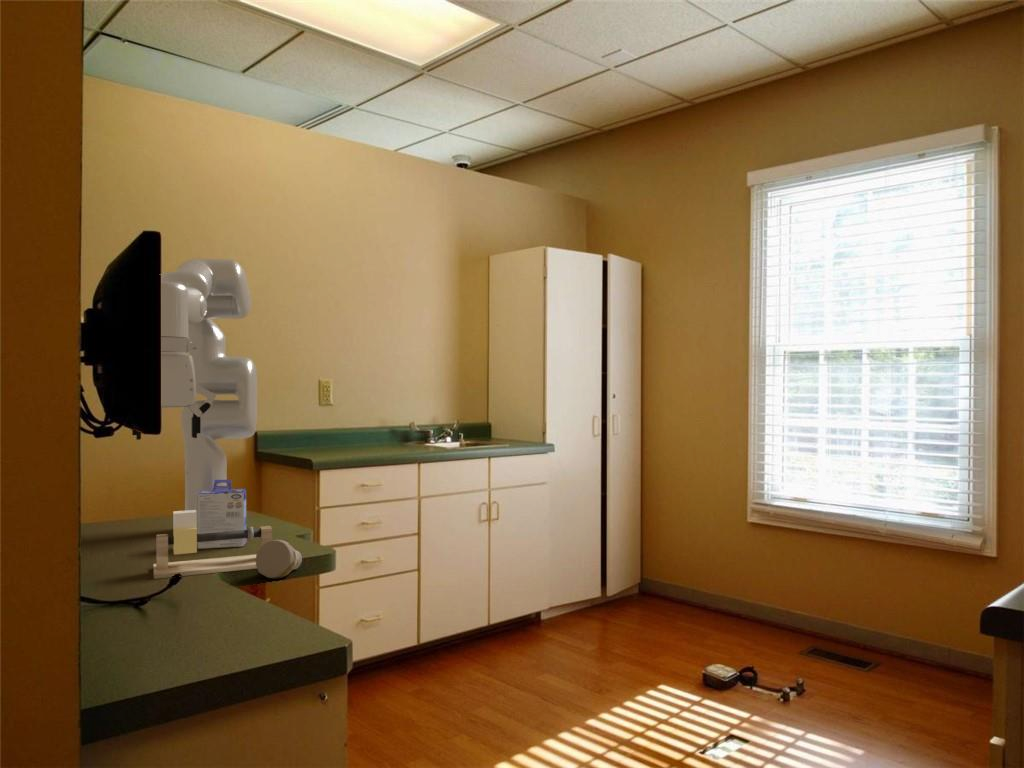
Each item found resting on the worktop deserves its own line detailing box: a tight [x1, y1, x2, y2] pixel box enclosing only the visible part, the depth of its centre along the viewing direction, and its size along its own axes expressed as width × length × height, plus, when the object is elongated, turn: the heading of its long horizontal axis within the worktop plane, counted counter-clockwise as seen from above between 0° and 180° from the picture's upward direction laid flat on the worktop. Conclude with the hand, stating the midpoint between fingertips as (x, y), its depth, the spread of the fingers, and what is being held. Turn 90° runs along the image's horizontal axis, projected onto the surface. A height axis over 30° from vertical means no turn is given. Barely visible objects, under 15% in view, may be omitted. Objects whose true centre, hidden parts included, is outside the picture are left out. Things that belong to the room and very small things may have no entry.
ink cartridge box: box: [197, 479, 247, 550], centre depth 170 cm, size 10×6×14 cm, turn 105°
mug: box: [256, 539, 303, 580], centre depth 145 cm, size 8×10×10 cm
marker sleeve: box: [172, 510, 198, 556], centre depth 148 cm, size 5×4×8 cm
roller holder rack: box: [152, 525, 273, 580], centre depth 150 cm, size 9×22×7 cm, turn 115°
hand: (166, 438), depth 145 cm, fingers open, 9 cm apart
